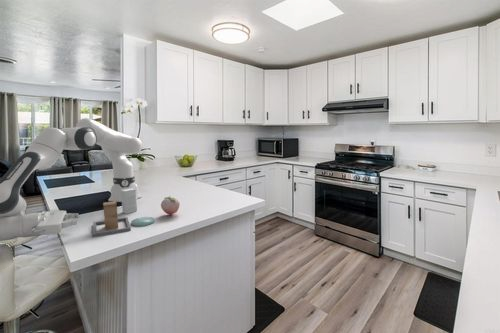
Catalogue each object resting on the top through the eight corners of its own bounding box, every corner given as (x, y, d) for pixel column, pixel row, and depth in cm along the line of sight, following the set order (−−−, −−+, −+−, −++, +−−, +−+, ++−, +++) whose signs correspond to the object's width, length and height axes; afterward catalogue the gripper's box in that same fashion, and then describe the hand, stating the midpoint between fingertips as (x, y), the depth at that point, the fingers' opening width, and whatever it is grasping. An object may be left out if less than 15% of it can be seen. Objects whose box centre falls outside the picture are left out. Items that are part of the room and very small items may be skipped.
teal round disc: (130, 221, 125) (130, 219, 125) (152, 217, 129) (152, 215, 129) (132, 227, 116) (132, 225, 116) (156, 223, 121) (156, 221, 121)
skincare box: (133, 209, 143) (131, 188, 141) (137, 211, 140) (135, 189, 138) (122, 212, 138) (120, 190, 136) (125, 214, 135) (124, 191, 134)
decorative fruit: (183, 214, 135) (183, 195, 134) (171, 218, 128) (170, 198, 127) (170, 211, 140) (170, 192, 138) (158, 215, 133) (157, 196, 131)
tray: (93, 224, 120) (93, 222, 120) (127, 219, 127) (127, 217, 127) (92, 236, 106) (92, 234, 106) (130, 230, 113) (130, 227, 113)
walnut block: (105, 226, 117) (103, 202, 116) (117, 224, 120) (116, 201, 118) (105, 230, 113) (103, 205, 112) (118, 228, 116) (116, 204, 114)
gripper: (28, 224, 94) (74, 218, 100) (39, 210, 111) (78, 205, 118) (30, 241, 94) (76, 234, 101) (41, 224, 112) (80, 219, 119)
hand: (77, 218), depth 110 cm, fingers open, 8 cm apart
